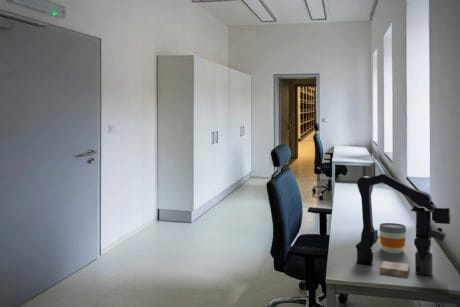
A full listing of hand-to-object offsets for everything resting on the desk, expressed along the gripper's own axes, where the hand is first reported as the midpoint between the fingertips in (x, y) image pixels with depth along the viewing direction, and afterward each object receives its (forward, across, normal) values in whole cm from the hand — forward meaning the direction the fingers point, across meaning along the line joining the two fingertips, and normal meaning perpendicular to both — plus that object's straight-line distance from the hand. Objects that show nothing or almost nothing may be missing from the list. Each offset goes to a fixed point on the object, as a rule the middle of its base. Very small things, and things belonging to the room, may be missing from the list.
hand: (423, 258), depth 176 cm
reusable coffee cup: (+6, +26, +15) cm, 31 cm away
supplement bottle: (+7, 0, 0) cm, 7 cm away
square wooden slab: (+7, -2, +11) cm, 13 cm away
